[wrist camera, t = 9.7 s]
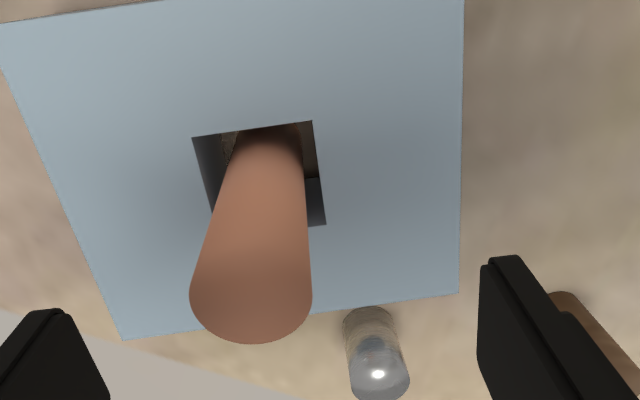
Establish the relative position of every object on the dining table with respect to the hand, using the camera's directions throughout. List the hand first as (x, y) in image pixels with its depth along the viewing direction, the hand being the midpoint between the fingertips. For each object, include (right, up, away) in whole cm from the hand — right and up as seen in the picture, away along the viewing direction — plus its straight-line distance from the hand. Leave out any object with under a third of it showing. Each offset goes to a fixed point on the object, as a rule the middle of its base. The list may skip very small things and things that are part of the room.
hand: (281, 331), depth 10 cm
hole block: (-2, +6, +12) cm, 13 cm away
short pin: (+4, -5, +18) cm, 19 cm away
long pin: (-2, +6, +12) cm, 14 cm away
